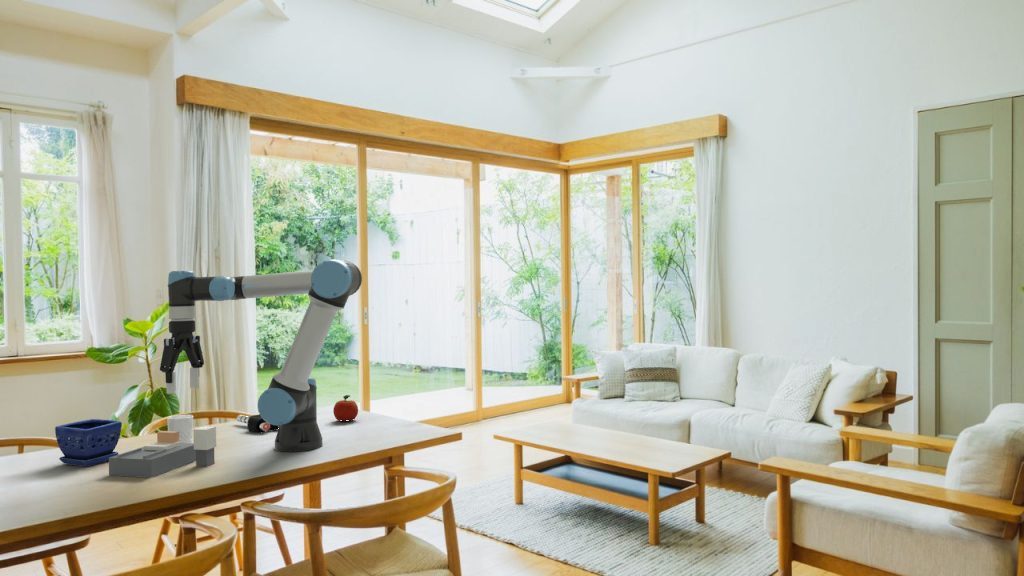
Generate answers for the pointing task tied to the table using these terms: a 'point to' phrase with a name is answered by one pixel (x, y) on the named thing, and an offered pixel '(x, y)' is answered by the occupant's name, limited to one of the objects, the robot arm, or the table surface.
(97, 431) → the flower pot
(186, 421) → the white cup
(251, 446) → the table surface
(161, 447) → the tan and grey block
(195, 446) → the plug
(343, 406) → the fruit
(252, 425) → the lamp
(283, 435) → the robot arm
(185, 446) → the socket
